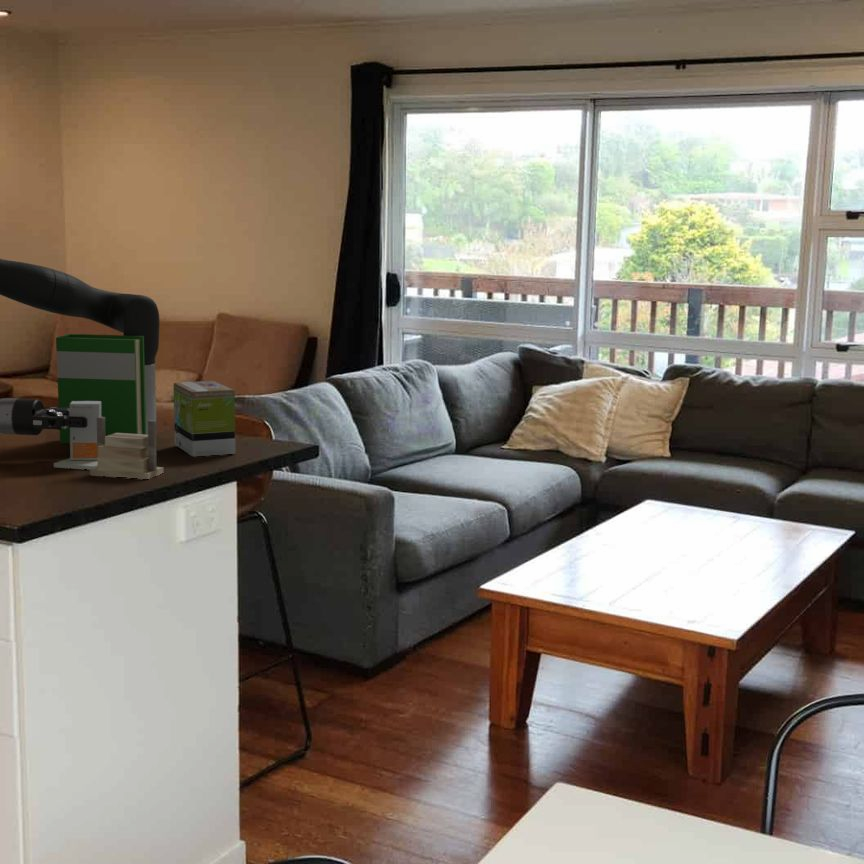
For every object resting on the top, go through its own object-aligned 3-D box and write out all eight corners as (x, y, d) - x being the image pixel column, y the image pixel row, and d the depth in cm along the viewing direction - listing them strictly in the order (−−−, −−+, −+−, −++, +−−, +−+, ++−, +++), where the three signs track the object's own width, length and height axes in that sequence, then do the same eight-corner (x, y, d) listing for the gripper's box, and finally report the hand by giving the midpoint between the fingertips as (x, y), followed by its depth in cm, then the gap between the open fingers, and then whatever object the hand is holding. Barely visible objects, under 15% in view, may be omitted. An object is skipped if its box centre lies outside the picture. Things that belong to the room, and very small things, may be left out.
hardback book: (146, 439, 280) (143, 336, 275) (137, 445, 273) (134, 340, 268) (71, 436, 281) (67, 333, 276) (60, 443, 274) (55, 337, 269)
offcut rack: (107, 469, 246) (106, 414, 244) (163, 473, 244) (163, 418, 242) (90, 475, 240) (88, 419, 238) (147, 479, 237) (147, 423, 235)
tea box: (172, 446, 274) (172, 381, 272) (215, 443, 279) (215, 380, 276) (191, 458, 261) (191, 389, 258) (236, 455, 265) (236, 388, 263)
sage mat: (85, 456, 259) (85, 452, 259) (124, 459, 257) (124, 455, 257) (53, 467, 247) (53, 463, 247) (94, 470, 245) (94, 466, 245)
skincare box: (69, 461, 249) (68, 403, 247) (72, 457, 254) (71, 400, 252) (100, 460, 250) (99, 403, 248) (102, 457, 254) (101, 400, 253)
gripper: (2, 403, 243) (82, 406, 243) (29, 394, 257) (104, 396, 257) (3, 440, 245) (82, 442, 244) (30, 428, 259) (105, 431, 258)
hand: (93, 419), depth 250 cm, fingers open, 8 cm apart
